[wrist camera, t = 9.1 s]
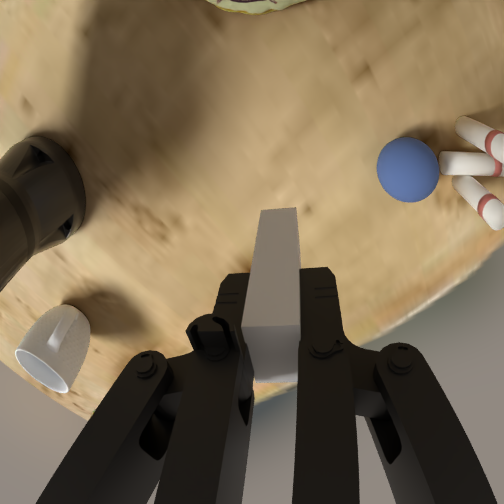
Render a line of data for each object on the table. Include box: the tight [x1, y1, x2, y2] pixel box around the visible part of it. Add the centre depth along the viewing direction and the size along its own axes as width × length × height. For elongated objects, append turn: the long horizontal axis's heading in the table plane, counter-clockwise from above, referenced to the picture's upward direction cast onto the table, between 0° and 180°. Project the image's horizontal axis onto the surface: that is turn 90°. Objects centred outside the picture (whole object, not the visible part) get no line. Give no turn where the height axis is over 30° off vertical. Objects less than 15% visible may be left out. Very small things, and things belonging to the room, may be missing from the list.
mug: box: [15, 304, 90, 393], centre depth 42 cm, size 15×11×13 cm
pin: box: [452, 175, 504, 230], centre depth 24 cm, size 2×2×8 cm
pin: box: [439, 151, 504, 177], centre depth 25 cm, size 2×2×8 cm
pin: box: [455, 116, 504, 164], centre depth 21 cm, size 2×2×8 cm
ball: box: [377, 137, 439, 202], centre depth 25 cm, size 6×6×6 cm
